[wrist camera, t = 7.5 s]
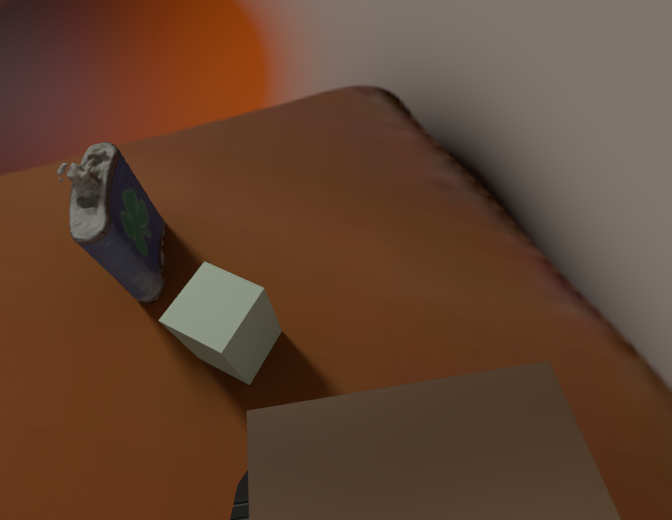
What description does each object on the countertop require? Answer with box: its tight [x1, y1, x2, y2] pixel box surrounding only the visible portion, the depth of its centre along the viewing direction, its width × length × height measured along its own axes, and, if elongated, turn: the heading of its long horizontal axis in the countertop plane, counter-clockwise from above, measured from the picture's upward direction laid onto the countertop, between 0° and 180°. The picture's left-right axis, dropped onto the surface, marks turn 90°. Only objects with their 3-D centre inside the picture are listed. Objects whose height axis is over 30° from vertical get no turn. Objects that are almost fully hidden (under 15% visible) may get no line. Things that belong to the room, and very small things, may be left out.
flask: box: [57, 142, 165, 303], centre depth 29 cm, size 9×3×11 cm, turn 12°
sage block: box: [158, 261, 282, 385], centre depth 26 cm, size 4×4×7 cm
